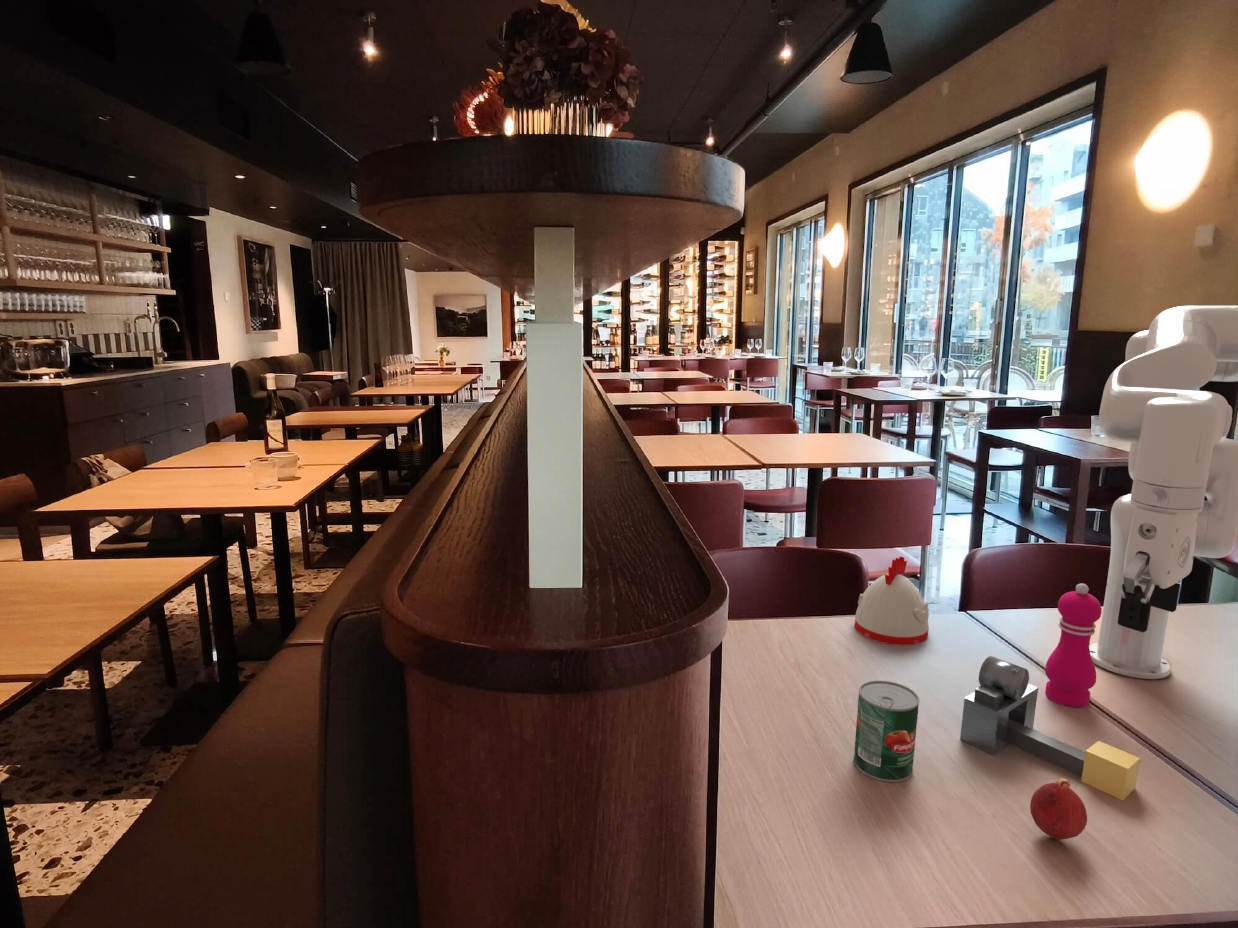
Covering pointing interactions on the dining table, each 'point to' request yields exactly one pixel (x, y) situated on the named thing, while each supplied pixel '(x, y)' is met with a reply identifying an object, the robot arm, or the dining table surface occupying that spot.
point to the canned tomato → (886, 730)
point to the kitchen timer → (893, 609)
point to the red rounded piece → (1058, 810)
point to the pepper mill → (1073, 650)
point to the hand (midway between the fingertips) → (1146, 617)
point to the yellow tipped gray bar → (1080, 759)
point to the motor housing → (997, 704)
